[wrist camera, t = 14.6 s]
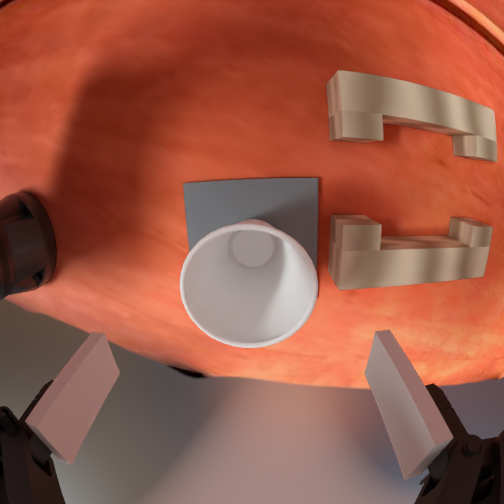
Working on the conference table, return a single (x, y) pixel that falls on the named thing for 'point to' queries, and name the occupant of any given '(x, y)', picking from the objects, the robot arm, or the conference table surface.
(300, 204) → the coaster
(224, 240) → the cup
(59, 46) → the conference table surface
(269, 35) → the conference table surface
